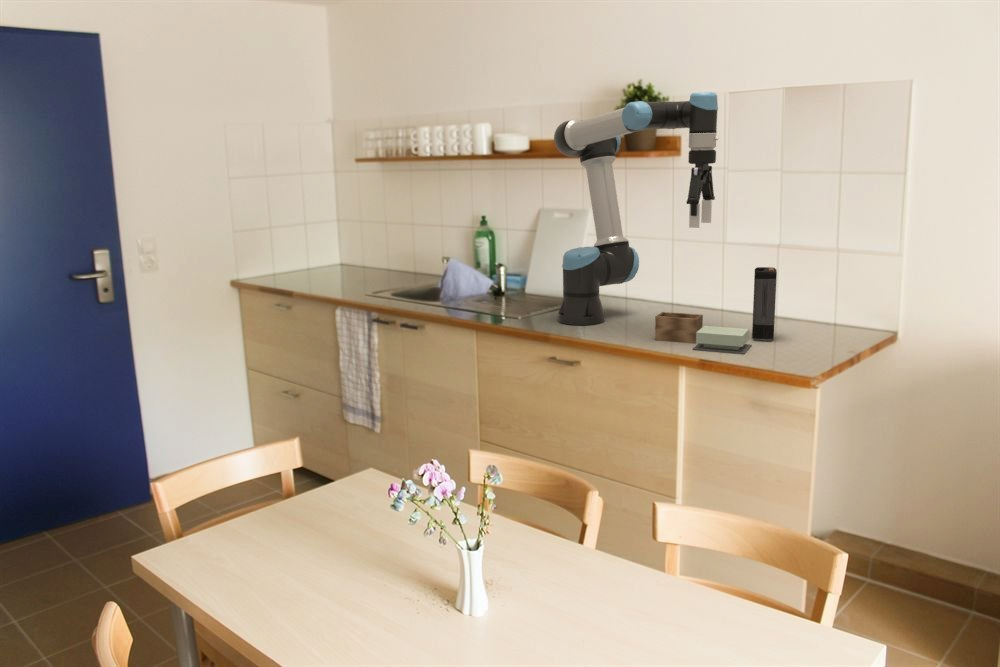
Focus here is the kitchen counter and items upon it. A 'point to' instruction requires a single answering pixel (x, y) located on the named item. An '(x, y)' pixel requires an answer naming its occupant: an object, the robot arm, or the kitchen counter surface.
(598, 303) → the robot arm
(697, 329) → the crate
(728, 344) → the block
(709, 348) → the mat
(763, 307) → the electronic device
